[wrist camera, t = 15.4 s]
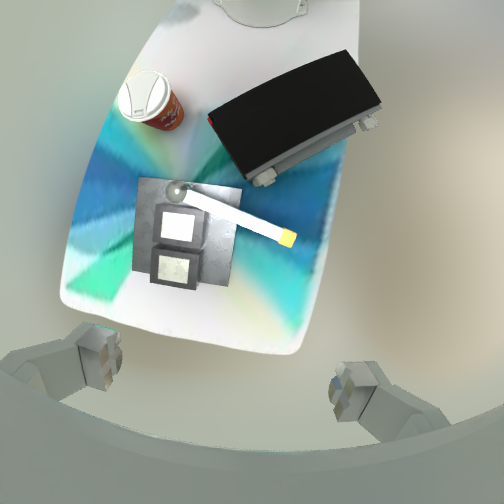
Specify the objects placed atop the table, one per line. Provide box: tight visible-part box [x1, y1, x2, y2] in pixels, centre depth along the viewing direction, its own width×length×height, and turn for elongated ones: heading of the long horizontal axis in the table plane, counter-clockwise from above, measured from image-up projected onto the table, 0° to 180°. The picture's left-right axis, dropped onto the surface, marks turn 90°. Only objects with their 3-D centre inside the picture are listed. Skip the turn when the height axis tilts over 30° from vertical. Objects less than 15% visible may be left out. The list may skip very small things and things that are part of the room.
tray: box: [132, 177, 242, 290], centre depth 44 cm, size 17×18×6 cm
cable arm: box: [165, 181, 297, 248], centre depth 39 cm, size 20×3×2 cm, turn 67°
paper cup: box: [118, 70, 183, 131], centre depth 35 cm, size 8×8×14 cm
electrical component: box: [207, 49, 382, 187], centre depth 34 cm, size 18×10×20 cm, turn 121°
